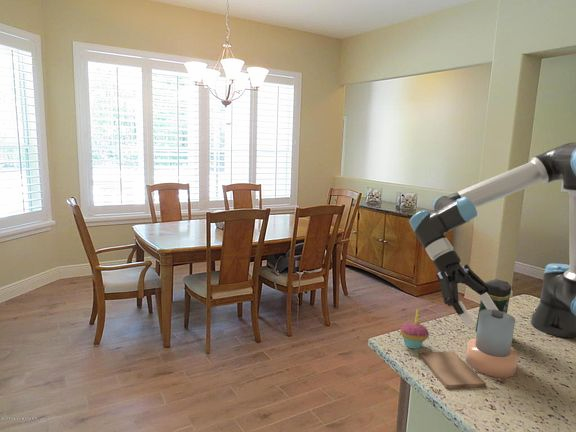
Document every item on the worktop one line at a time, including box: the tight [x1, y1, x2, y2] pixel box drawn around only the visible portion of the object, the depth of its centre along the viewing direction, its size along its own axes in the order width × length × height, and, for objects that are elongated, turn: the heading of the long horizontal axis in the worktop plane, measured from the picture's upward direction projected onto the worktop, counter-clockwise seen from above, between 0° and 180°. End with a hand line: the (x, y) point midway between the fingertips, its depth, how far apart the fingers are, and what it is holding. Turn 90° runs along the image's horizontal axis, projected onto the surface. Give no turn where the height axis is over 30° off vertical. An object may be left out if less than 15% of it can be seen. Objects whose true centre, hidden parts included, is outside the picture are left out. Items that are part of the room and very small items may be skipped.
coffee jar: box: [475, 278, 512, 333], centre depth 132 cm, size 10×8×19 cm
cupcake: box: [399, 307, 430, 350], centre depth 123 cm, size 9×8×12 cm
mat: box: [418, 351, 487, 389], centre depth 111 cm, size 11×16×1 cm
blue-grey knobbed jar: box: [475, 309, 516, 357], centre depth 113 cm, size 9×9×11 cm
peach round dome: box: [465, 337, 519, 379], centre depth 114 cm, size 13×13×5 cm
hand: (483, 319), depth 115 cm, fingers open, 13 cm apart
